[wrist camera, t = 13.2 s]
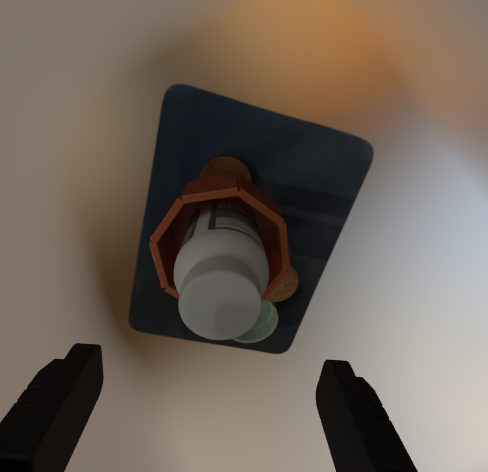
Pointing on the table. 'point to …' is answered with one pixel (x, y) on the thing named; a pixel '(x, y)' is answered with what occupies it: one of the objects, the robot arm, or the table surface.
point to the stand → (226, 167)
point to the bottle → (285, 282)
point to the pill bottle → (221, 271)
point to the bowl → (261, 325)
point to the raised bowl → (213, 188)
